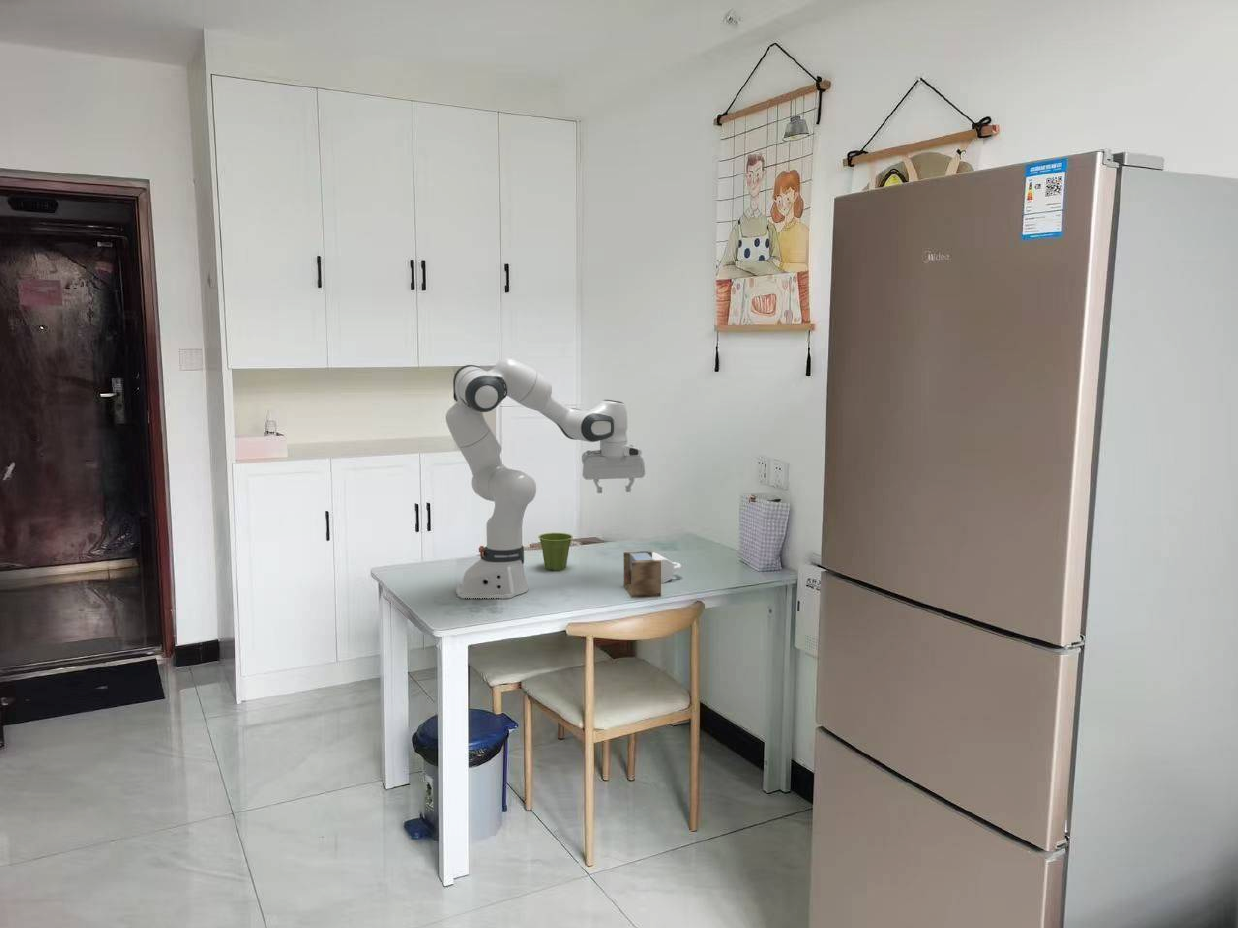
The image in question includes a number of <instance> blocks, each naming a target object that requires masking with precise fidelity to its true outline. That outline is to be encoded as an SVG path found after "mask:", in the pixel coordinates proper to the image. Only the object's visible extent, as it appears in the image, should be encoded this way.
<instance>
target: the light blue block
mask: <svg viewBox="0 0 1238 928" xmlns="http://www.w3.org/2000/svg"><path fill="white" fill-rule="evenodd" d="M652 560H653V559H652V558H651V557H650V555H649V554H648V553H630V570H631V562H633V561H652Z"/></svg>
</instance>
